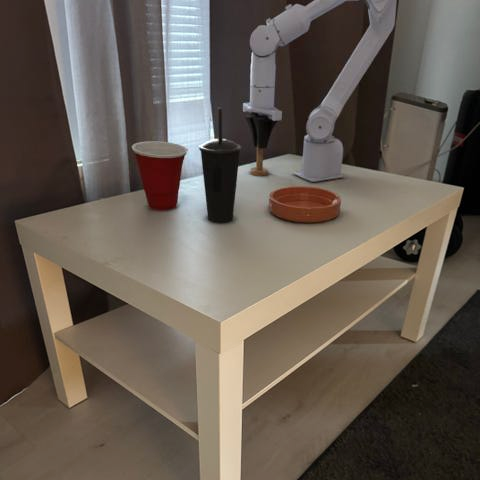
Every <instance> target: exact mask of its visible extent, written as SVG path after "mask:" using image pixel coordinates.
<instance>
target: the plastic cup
mask: <svg viewBox="0 0 480 480" xmlns="http://www.w3.org/2000/svg"><path fill="white" fill-rule="evenodd" d="M131 150H132V151H133V153H134V157H135V160H136V164H137V167H138V171H139V176H140V179H141V184H142V187H143V191H144V194H145V198H146V202H147V204H148V207H149V208H150V209H152V210H155V211H169V210H173V209H175V208H176V207H177V205H178V202H179V201H178V199H179V191H180V187H181V180H182V179H181V178H182V171H183V165H184V161H185V157H186V155H187V154H188V148H187V147H186V146H184V145H181V144H179V143H173V142H168V141H159V140H157V141H156V140H155V141H154V140H153V141H152V140H151V141H140V142H136V143H133V144H132V145H131Z"/></svg>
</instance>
